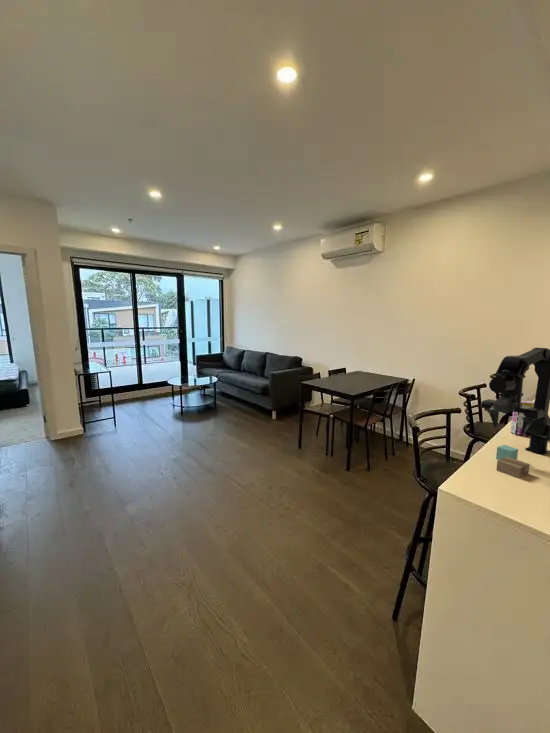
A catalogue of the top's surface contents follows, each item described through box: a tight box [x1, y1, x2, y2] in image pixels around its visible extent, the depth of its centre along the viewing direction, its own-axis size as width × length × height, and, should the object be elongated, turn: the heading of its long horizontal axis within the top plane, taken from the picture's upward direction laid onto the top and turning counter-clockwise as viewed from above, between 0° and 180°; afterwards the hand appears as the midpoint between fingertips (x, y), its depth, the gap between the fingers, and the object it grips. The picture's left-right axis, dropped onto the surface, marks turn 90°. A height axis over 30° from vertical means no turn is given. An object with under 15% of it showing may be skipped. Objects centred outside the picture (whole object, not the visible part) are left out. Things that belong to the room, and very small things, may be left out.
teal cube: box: [495, 444, 519, 461], centre depth 124 cm, size 5×5×5 cm
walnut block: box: [495, 457, 531, 479], centre depth 113 cm, size 7×7×4 cm
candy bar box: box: [510, 400, 535, 436], centre depth 153 cm, size 11×5×16 cm, turn 78°
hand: (508, 430), depth 121 cm, fingers open, 9 cm apart
